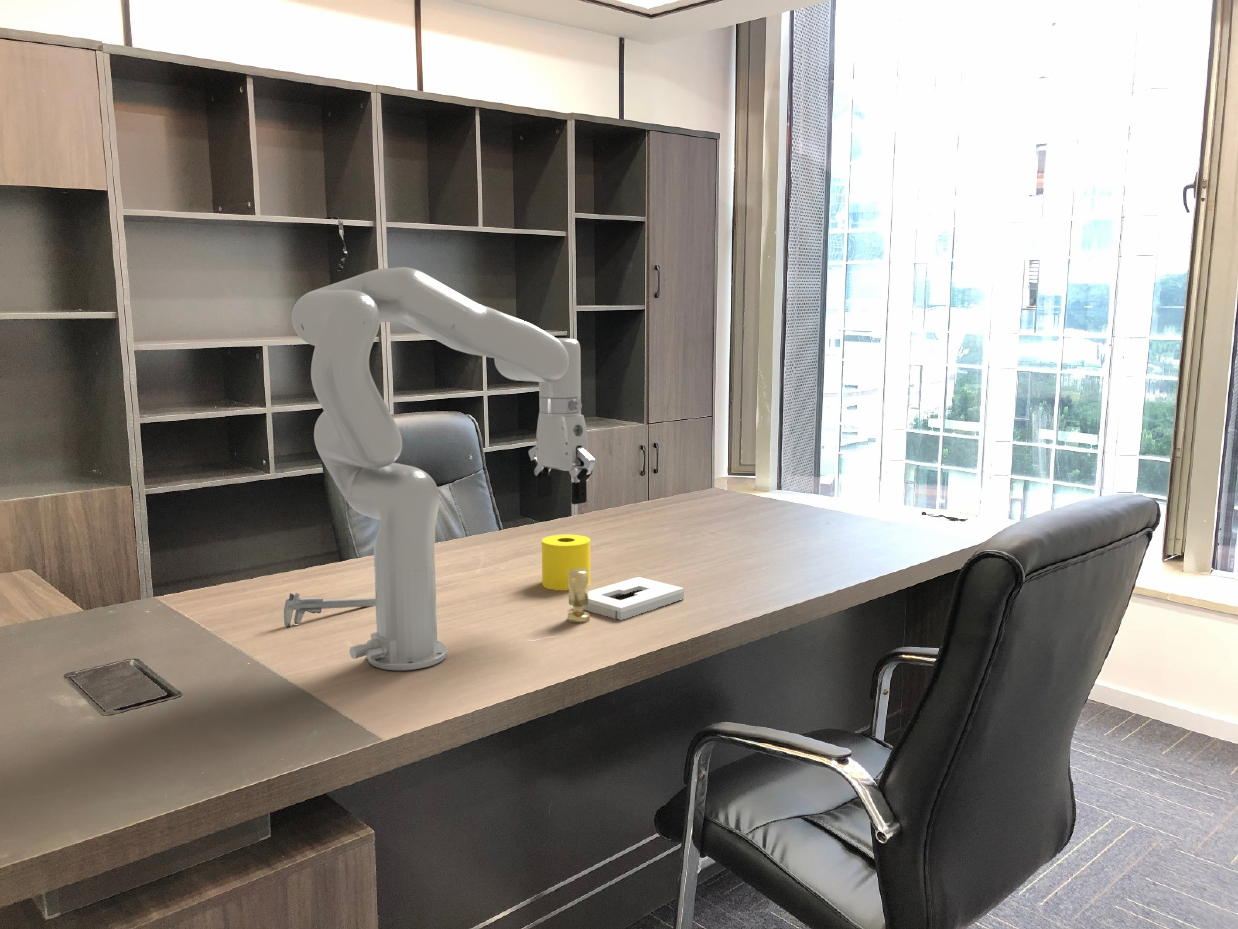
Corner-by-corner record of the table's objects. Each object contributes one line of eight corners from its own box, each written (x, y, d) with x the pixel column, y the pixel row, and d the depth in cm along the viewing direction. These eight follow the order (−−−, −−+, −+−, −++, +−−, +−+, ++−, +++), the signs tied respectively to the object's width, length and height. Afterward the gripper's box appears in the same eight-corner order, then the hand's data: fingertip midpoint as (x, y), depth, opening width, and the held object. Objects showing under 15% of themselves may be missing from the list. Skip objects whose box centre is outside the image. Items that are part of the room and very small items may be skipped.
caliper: (287, 630, 169) (285, 595, 168) (284, 628, 170) (282, 594, 169) (384, 604, 184) (383, 572, 183) (380, 603, 185) (379, 571, 184)
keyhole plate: (621, 620, 174) (621, 608, 173) (575, 607, 182) (575, 595, 181) (683, 599, 186) (683, 588, 186) (638, 588, 195) (638, 576, 194)
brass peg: (578, 624, 171) (578, 575, 170) (563, 620, 174) (562, 571, 172) (594, 619, 174) (593, 571, 173) (578, 615, 177) (578, 567, 175)
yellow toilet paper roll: (560, 575, 204) (559, 532, 203) (599, 582, 199) (599, 538, 198) (532, 586, 196) (532, 541, 195) (573, 593, 191) (572, 547, 189)
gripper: (608, 408, 168) (608, 503, 171) (545, 402, 180) (546, 490, 183) (576, 411, 163) (577, 509, 166) (514, 405, 175) (516, 496, 178)
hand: (561, 499), depth 174 cm, fingers open, 9 cm apart
